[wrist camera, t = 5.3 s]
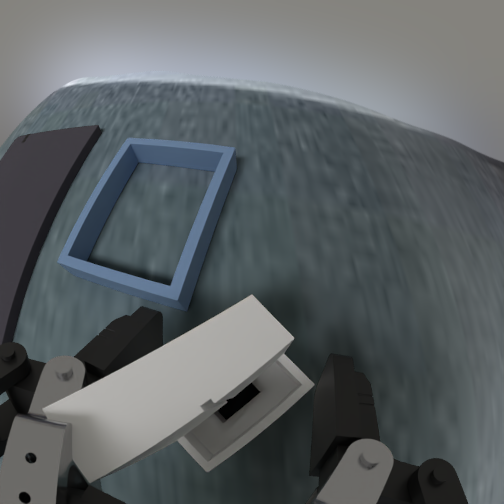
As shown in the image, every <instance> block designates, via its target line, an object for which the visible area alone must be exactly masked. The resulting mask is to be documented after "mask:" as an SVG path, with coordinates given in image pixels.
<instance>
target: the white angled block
mask: <svg viewBox="0 0 504 504" xmlns="http://www.w3.org/2000/svg"><path fill="white" fill-rule="evenodd" d="M293 340H294V337H293V336H292V335H291V334H290V333H289V332H288V331H287V330H286V329H285V328H284V327H283V326H282V325H281V324H280V323H279V322H278V321H277V320H276V319H275V318H274V317H273V316H272V314H271V313H270V312H269V311H268V310H267V309H266V308H265V307H264V306H263V305H262V304H261V303H260V302H259V301H258V300H257V299H256V298H255V297H254V296H253V295H250V296H249V297H247V298H245V299H244V300H242V301H240V302H238V303H237V304H235V305H233V306H232V307H230V308H228V309H227V310H225V311H223V312H221V313H220V314H218V315H216V316H215V317H213V318H211V319H209V320H208V321H206V322H204V323H202V324H201V325H199V326H197V327H195V328H194V329H192V330H190V331H188V332H187V333H185V334H183V335H181V336H180V337H178V338H176V339H174V340H172V341H171V342H169V343H167V344H165V345H163V346H162V347H160V348H158V349H156V350H154V351H153V352H151V353H149V354H147V355H145V356H143V357H142V358H140V359H138V360H136V361H134V362H132V363H130V364H129V365H127V366H125V367H123V368H121V369H119V370H117V371H115V372H114V373H112V374H110V375H108V376H106V377H104V378H102V379H100V380H98V381H96V382H94V383H93V384H91V385H89V386H87V387H85V388H83V389H81V390H79V391H77V392H75V393H73V394H71V395H69V396H67V397H65V398H63V399H61V400H59V401H57V402H55V403H53V404H51V405H49V406H47V407H45V408H43V411H44V413H45V415H46V417H47V419H50V420H56V421H61V422H67V423H71V424H72V459H73V461H74V462H75V464H76V465H77V467H78V468H79V469H80V471H81V472H82V474H83V475H84V476H85V478H86V479H87V480H88V482H89V483H91V482H94V481H96V480H99V479H101V478H103V477H105V476H108V475H110V474H112V473H114V472H117V471H119V470H121V469H123V468H125V467H127V466H129V465H131V464H134V463H136V462H138V461H140V460H142V459H144V458H146V457H148V456H149V455H151V454H153V453H155V452H157V451H159V450H161V449H163V448H165V447H166V446H168V445H170V444H172V443H174V442H175V441H178V442H179V443H180V444H181V445H182V446H183V448H184V449H185V450H186V451H187V452H188V453H189V454H190V455H191V456H192V457H193V458H194V460H195V461H196V462H197V463H198V464H199V465H200V466H201V467H202V468H203V469H204V470H205V471H206V472H209V471H210V470H212V469H213V468H215V467H216V466H218V465H219V464H220V463H222V462H223V461H225V460H226V459H227V458H229V457H230V456H231V455H233V454H234V453H235V452H237V451H238V450H239V449H241V448H242V447H243V446H245V445H246V444H247V443H248V442H250V441H251V440H252V439H254V438H255V437H256V436H257V435H259V434H260V433H261V432H262V431H263V430H265V429H266V428H267V427H268V426H269V425H271V424H272V423H273V422H274V421H275V420H277V419H278V418H279V417H280V416H281V415H282V414H283V413H285V412H286V411H287V410H288V409H289V408H290V407H291V406H292V405H294V404H295V403H296V402H297V401H298V400H299V399H300V398H301V397H302V396H303V395H304V394H306V393H307V392H308V391H309V390H310V389H311V388H312V387H313V386H314V385H315V384H314V383H313V382H312V381H311V380H310V379H309V378H308V377H307V376H306V375H305V374H304V373H303V372H302V371H301V370H300V369H299V368H298V367H297V366H296V365H295V364H294V363H293V362H292V361H291V360H290V359H289V358H288V357H287V356H286V355H285V354H284V353H285V351H286V350H287V349H288V347H289V346H290V344H291V343H292V341H293ZM251 382H252V384H253V385H254V386H255V387H256V388H257V389H258V390H259V391H260V393H259V394H258V395H256V396H255V397H254V398H253V399H252V400H251V401H249V402H248V403H247V404H246V405H244V406H243V407H242V408H241V409H240V410H238V411H237V412H236V413H235V414H233V415H232V416H231V417H230V418H228V419H227V420H226V419H225V418H224V417H223V416H222V415H221V414H220V413H219V412H218V409H220V408H221V407H222V406H223V405H225V404H226V403H227V401H226V400H227V399H230V398H233V397H234V396H236V395H237V394H238V393H239V392H241V391H242V390H243V389H244V388H245V387H246V386H248V385H249V384H250V383H251Z"/></svg>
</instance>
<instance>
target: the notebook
mask: <svg viewBox="0 0 504 504" xmlns="http://www.w3.org/2000/svg"><path fill="white" fill-rule="evenodd" d="M101 133H102V132H101V130H100V128H99V126H98V125H94V126H84V127H75V128H67V129H60V130H53V131H46V132H40V133H34V134H28V135H23V136H20V137H18V138H17V139H15V140H14V142H13V143H12V144H11V146H10V147H9V149H8V150H7V152H6V153H5V155H4V156H3V158H2V159H1V161H0V345H2V344H4V343H8V342H12V341H13V336H14V332H15V328H16V324H17V320H18V316H19V313H20V309H21V306H22V302H23V299H24V296H25V293H26V290H27V286H28V283H29V280H30V278H31V275H32V272H33V269H34V266H35V264H36V261H37V258H38V256H39V253H40V251H41V248H42V246H43V243H44V241H45V238H46V236H47V234H48V231H49V229H50V227H51V225H52V222H53V220H54V218H55V216H56V214H57V212H58V210H59V207H60V205H61V203H62V201H63V199H64V197H65V195H66V193H67V192H68V190H69V188H70V186H71V184H72V182H73V180H74V178H75V177H76V175H77V173H78V171H79V169H80V168H81V166H82V164H83V162H84V161H85V159H86V157H87V156H88V154H89V152H90V151H91V149H92V147H93V146H94V144H95V143H96V141H97V140H98V138H99V136H100V135H101Z"/></svg>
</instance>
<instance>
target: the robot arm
mask: <svg viewBox="0 0 504 504" xmlns="http://www.w3.org/2000/svg"><path fill="white" fill-rule="evenodd" d="M162 346H163V316H162V313H161V312H159V311H156V310H153V309H149V308H146V307H143V306H142V307H140V308H139V309H138V310H136V311H135V312H134V313H133V314H132V315H131V316H128V315H125V316H122V317H120V318H118V319H115V320H114V321H112V322H111V323H110V324H109V325H108V326H107V327H106V329H104V330H103V331H101V332H100V333H99V336H98V335H97V336H96V337H95V338H94V339H93V340H92V341H90V342H89V343H88V344H87V345H86V346H85V347H84V348H83V349H82V350H81V351H80V352H79V353H78V354H76V355H75V356H74V357H71V356H59V357H55V358H53V359H51V360H50V361H48V362H47V363H43V362H39V361H35V360H31V359H29V358H28V355H27V352H26V350H25V348H24V347H23V346H22V345H21V344H19V343H15V342H8V343H4V344H2V345H0V395H1V394H2V393H4V392H5V391H6V393H7V395H8V397H9V400H7V401H6V402H4V403H3V404H2V405H0V457H1V456H3V455H4V457H3V461H2V466H1V470H0V504H126V503H125V502H122V501H120V500H118V499H116V498H114V497H112V496H110V495H108V494H106V493H104V492H102V486H101V481H100V479H99V480H96V481H94V482H91V483H89V482H88V480H87V479H86V478H85V476H84V475H83V474H82V472H81V471H80V469H79V468H78V467H77V465H76V464H75V462H74V461H73V459H72V424H71V423H67V422H61V421H56V420H50V419H47V417H46V415H45V413H44V411H43V408H45V407H47V406H49V405H51V404H53V403H55V402H57V401H59V400H61V399H63V398H65V397H67V396H69V395H71V394H73V393H75V392H77V391H79V390H81V389H83V388H85V387H87V386H89V385H91V384H93V383H94V382H96V381H98V380H100V379H102V378H104V377H106V376H108V375H110V374H112V373H114V372H115V371H117V370H119V369H121V368H123V367H125V366H127V365H129V364H130V363H132V362H134V361H136V360H138V359H140V358H142V357H143V356H145V355H147V354H149V353H151V352H153V351H154V350H156V349H158V348H160V347H162ZM372 395H373V394H372V389H371V384H370V382H369V381H368V379H367V378H366V377H365V375H364V374H363V373H360V372H355V371H354V364H353V358H352V357H350V356H344V355H338V354H332V353H331V354H330V355H329V357H328V360H327V362H326V365H325V367H324V370H323V372H322V375H321V377H320V380H319V382H318V385H317V388H316V391H315V396H314V408H313V428H312V444H311V459H310V471H309V476H317V477H319V486H318V487H317V488H316V489H315V491H314V492H313V493H312V495H311V496H310V498H309V499H308V500H307V502H306V503H305V504H468V502H467V499H466V496H465V494H464V491H463V488H462V486H461V483H460V481H459V478H458V476H457V473H456V471H455V469H454V468H453V466H452V465H451V464H450V463H448V462H447V461H445V460H443V459H439V458H433V459H429V460H427V461H425V462H424V463H423V464H422V465H421V466H420V467H419V466H415V465H411V464H407V463H404V462H400V461H398V460H395V459H393V455H392V453H391V451H390V450H389V448H388V447H387V446H386V445H384V444H383V443H381V442H380V437H379V430H378V424H377V417H376V411H375V407H374V400H373V397H372Z"/></svg>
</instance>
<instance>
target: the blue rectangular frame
mask: <svg viewBox="0 0 504 504" xmlns="http://www.w3.org/2000/svg"><path fill="white" fill-rule="evenodd" d="M138 162H140V163H150V164H159V165H168V166H176V167H184V168H192V169H199V170H206V171H213V172H215V173H214V176H213V178H212V180H211V183H210V185H209V187H208V190H207V192H206V194H205V197H204V199H203V202H202V204H201V207H200V209H199V212H198V214H197V217H196V219H195V222H194V224H193V227H192V229H191V232H190V234H189V237H188V240H187V242H186V245H185V247H184V250H183V253H182V255H181V258H180V261H179V263H178V266H177V269H176V272H175V274H174V277H173V280H172V283H171V286H168V285H164V284H161V283H157V282H154V281H150V280H146V279H143V278H139V277H136V276H133V275H129V274H126V273H122V272H119V271H116V270H112V269H109V268H106V267H102V266H99V265H96V264H93V263H90V262H87V260H88V258H89V255H90V253H91V251H92V249H93V247H94V244H95V242H96V240H97V238H98V236H99V234H100V232H101V230H102V228H103V226H104V224H105V222H106V220H107V218H108V216H109V214H110V212H111V210H112V208H113V206H114V204H115V203H116V201H117V199H118V197H119V195H120V193H121V192H122V190H123V188H124V186H125V184H126V183H127V181H128V179H129V178H130V176H131V174H132V172H133V171H134V169H135V167H136V166H137V164H138ZM236 170H237V162H236V150H235V148H234V147H226V146H218V145H210V144H201V143H192V142H182V141H170V140H157V139H141V138H127V140H126V141H125V143H124V144H123V145H122V147H121V148H120V150H119V151H118V153H117V154H116V156H115V157H114V159H113V160H112V162H111V163H110V165H109V167H108V168H107V170H106V171H105V173H104V175H103V176H102V178H101V179H100V181H99V183H98V184H97V186H96V188H95V190H94V191H93V193H92V195H91V196H90V198H89V200H88V202H87V203H86V205H85V207H84V209H83V211H82V213H81V214H80V216H79V218H78V220H77V222H76V224H75V226H74V228H73V230H72V232H71V234H70V236H69V238H68V240H67V242H66V244H65V246H64V248H63V250H62V252H61V255H60V257H59V259H58V261H57V262H58V263H59V264H60V265H61V266H62V267H64V268H65V269H66V270H67V271H69V272H70V273H71V274H73V275H74V276H77V277H80V278H82V279H85V280H88V281H91V282H94V283H97V284H99V285H102V286H105V287H108V288H111V289H114V290H117V291H120V292H123V293H126V294H129V295H133V296H136V297H139V298H142V299H145V300H149V301H152V302H155V303H159V304H162V305H165V306H169V307H172V308H176V309H179V310H183V311H186V312H187V310H188V307H189V304H190V301H191V298H192V295H193V291H194V288H195V285H196V282H197V279H198V276H199V273H200V270H201V267H202V265H203V262H204V259H205V256H206V253H207V250H208V247H209V244H210V241H211V238H212V236H213V233H214V230H215V227H216V224H217V221H218V219H219V216H220V213H221V210H222V208H223V205H224V202H225V199H226V197H227V194H228V191H229V189H230V186H231V183H232V181H233V178H234V175H235V173H236Z"/></svg>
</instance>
